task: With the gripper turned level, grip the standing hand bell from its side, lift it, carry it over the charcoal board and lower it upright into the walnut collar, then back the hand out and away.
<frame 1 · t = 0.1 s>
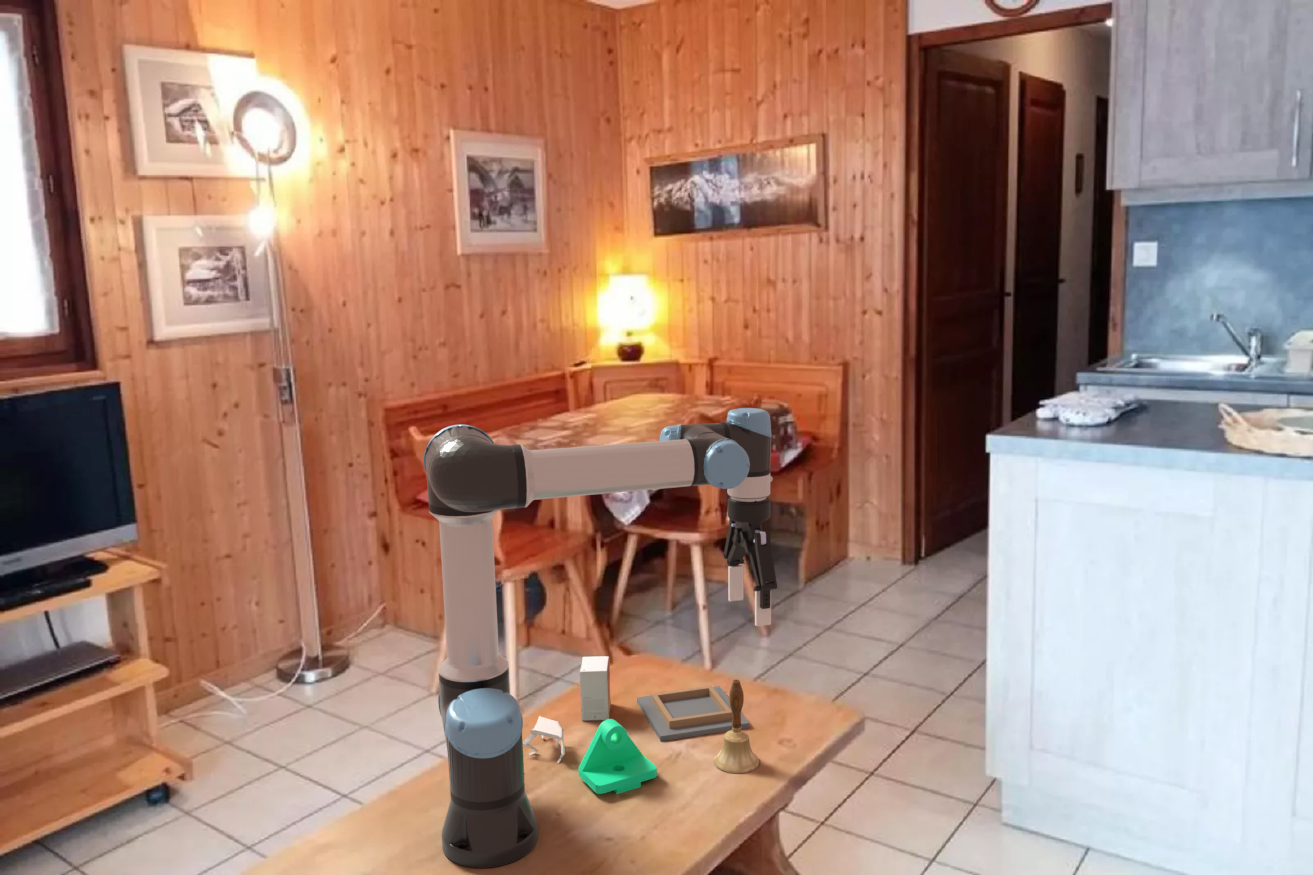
hand: (748, 612, 185), 28 cm above the table, tool pointing down, fingers open, 13 cm apart
camera mount: (619, 782, 183), on the table
small box: (596, 713, 210), on the table
hand bell: (736, 763, 189), on the table
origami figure: (549, 754, 194), on the table
bell board: (691, 714, 208), on the table
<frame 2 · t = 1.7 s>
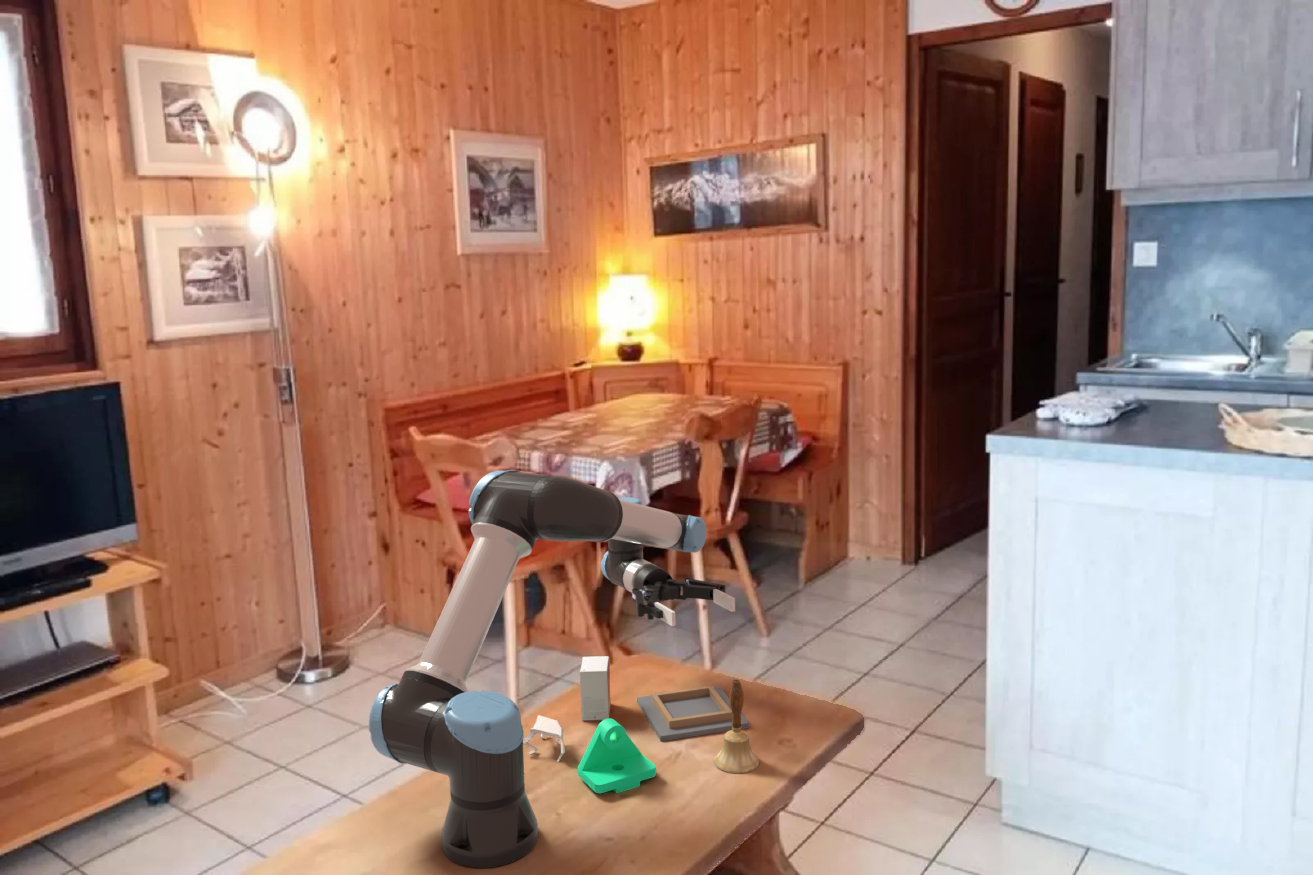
hand: (704, 612, 198), 24 cm above the table, tool horizontal, fingers open, 13 cm apart
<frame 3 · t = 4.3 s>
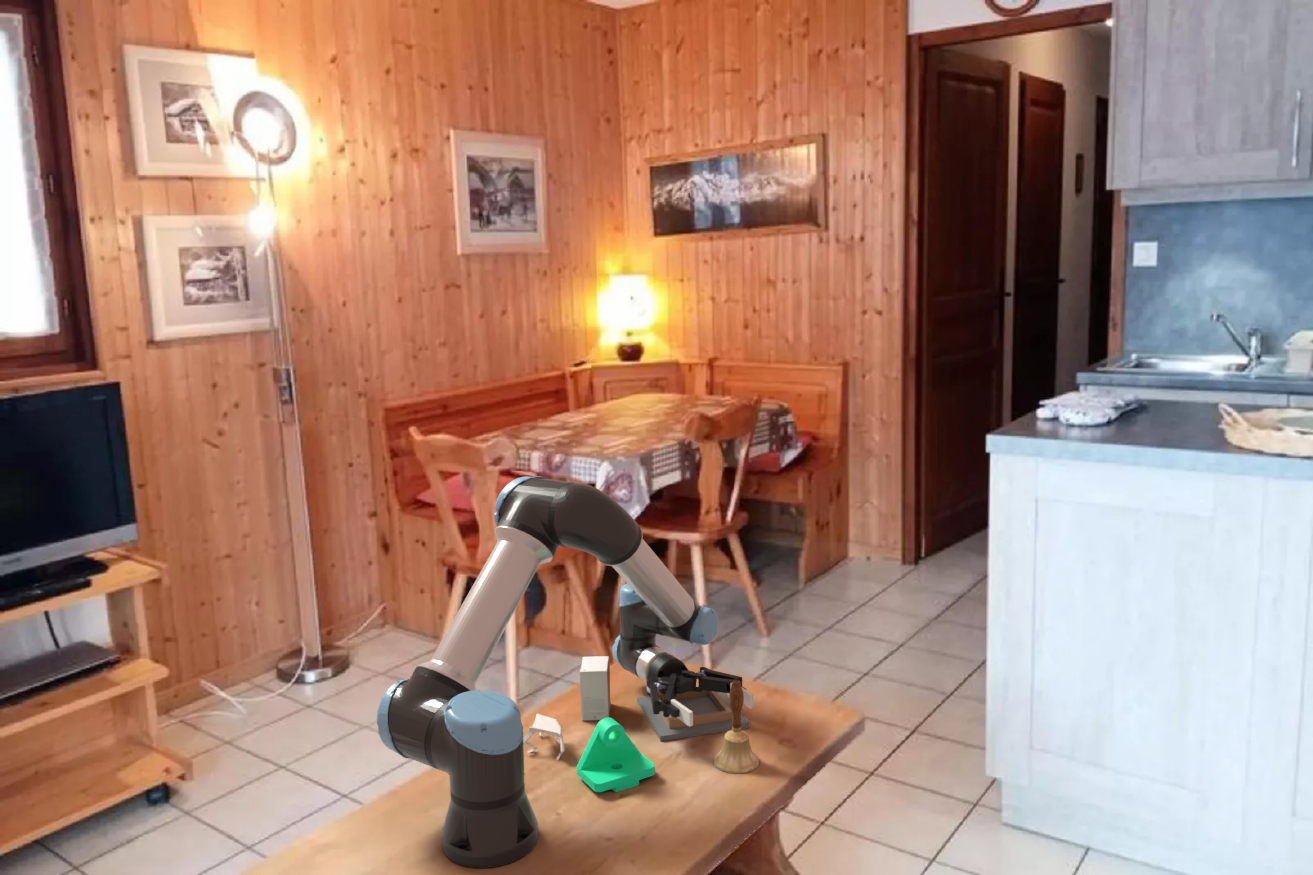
hand: (722, 710, 192), 8 cm above the table, tool horizontal, fingers open, 13 cm apart
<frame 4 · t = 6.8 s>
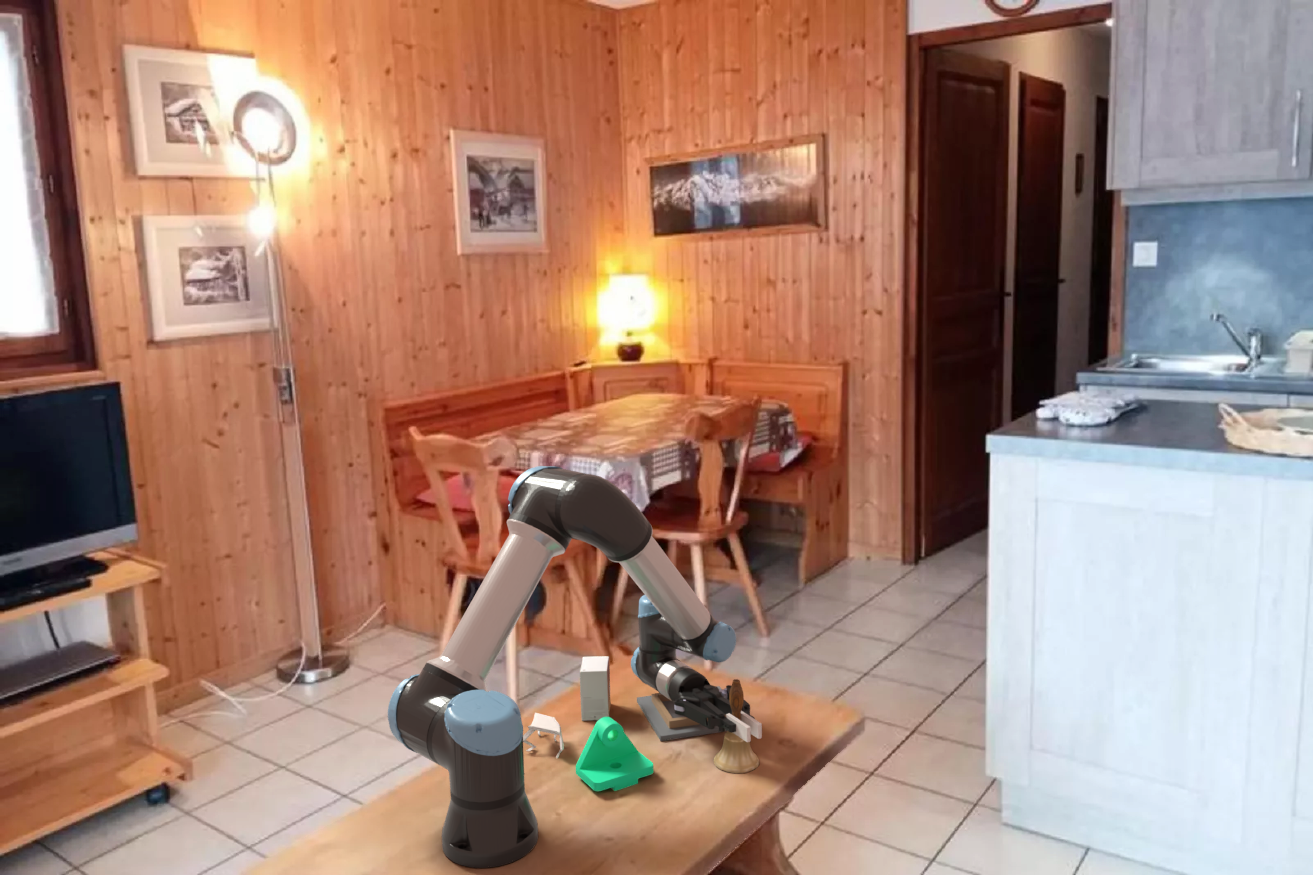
hand: (754, 732, 182), 8 cm above the table, tool horizontal, fingers closed on hand bell, 2 cm apart
hand bell: (736, 763, 189), on the table, touching gripper
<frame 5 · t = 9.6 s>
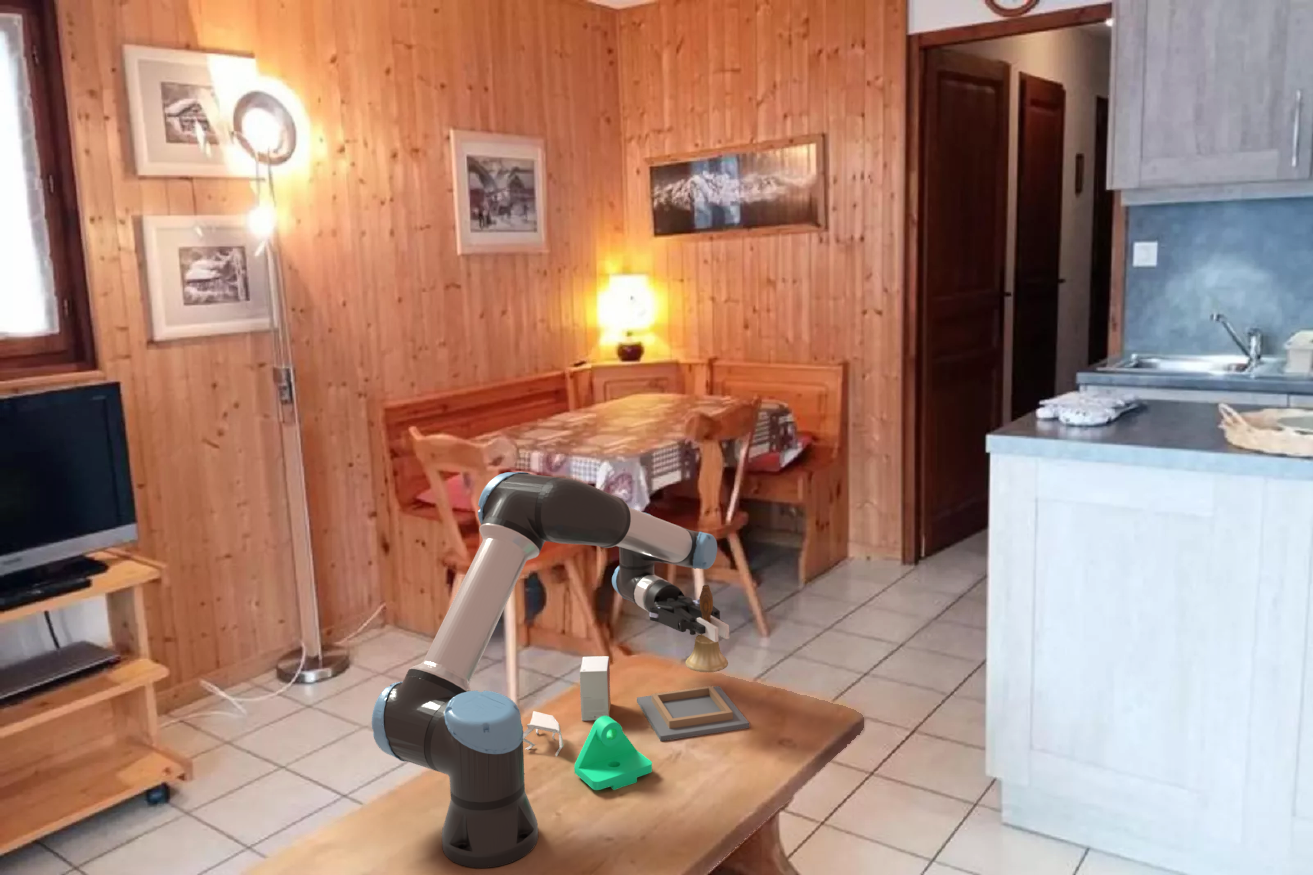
hand: (722, 633, 195), 21 cm above the table, tool horizontal, fingers closed on hand bell, 2 cm apart
hand bell: (706, 664, 201), point 12 cm above the table, touching gripper
when the fingers open (10 cm above the table, at t = 12.5 s): hand bell drops 1 cm, resting on bell board.
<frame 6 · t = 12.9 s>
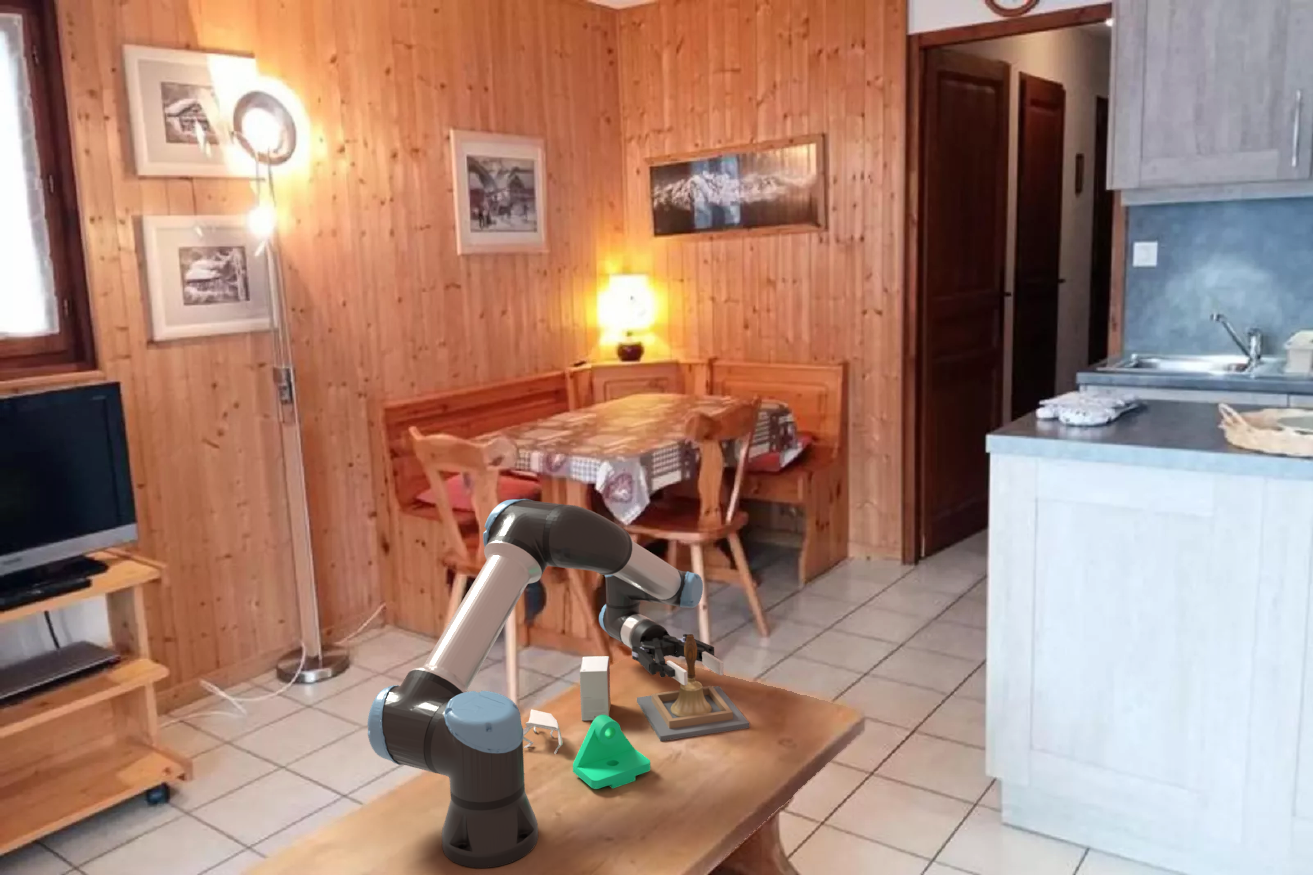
hand: (703, 673, 202), 10 cm above the table, tool horizontal, fingers open, 8 cm apart
hand bell: (691, 710, 208), point 1 cm above the table, touching bell board
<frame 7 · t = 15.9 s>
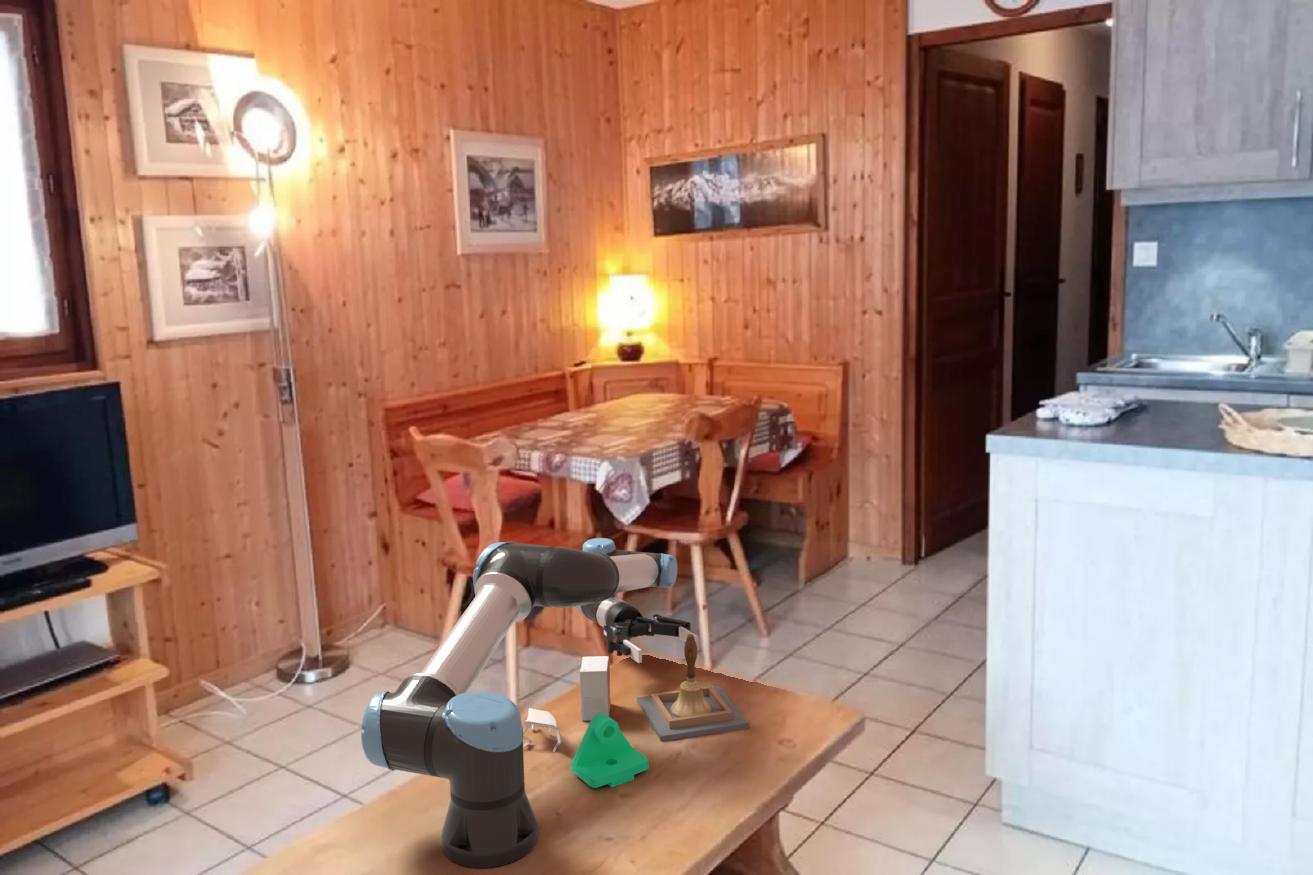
hand: (669, 649, 213), 11 cm above the table, tool horizontal, fingers open, 13 cm apart
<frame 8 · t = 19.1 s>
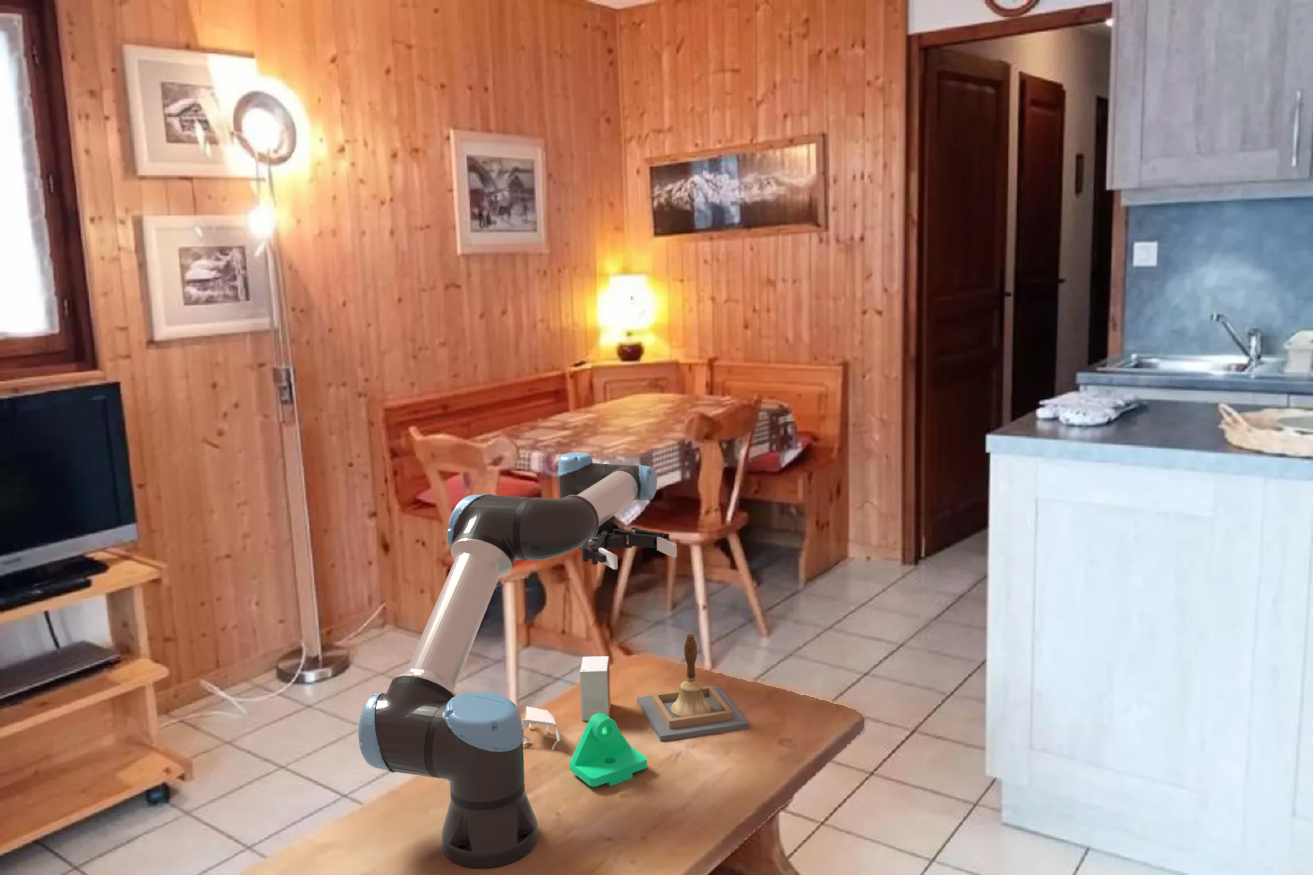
hand: (646, 556, 206), 32 cm above the table, tool horizontal, fingers open, 13 cm apart
at the end: hand bell 0.0 cm off-centre on the bell board, point 0.8 cm above the bell board's base; hand bell tilted 0°; the gripper is holding nothing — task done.
